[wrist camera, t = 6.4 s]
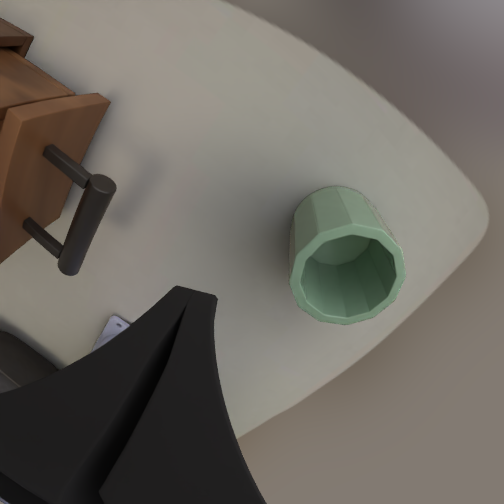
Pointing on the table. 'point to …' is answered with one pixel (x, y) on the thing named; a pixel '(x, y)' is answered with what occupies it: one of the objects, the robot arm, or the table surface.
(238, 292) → the table surface
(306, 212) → the green cup
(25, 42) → the cabinet
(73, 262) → the drawer
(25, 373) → the bowl
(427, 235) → the table surface
